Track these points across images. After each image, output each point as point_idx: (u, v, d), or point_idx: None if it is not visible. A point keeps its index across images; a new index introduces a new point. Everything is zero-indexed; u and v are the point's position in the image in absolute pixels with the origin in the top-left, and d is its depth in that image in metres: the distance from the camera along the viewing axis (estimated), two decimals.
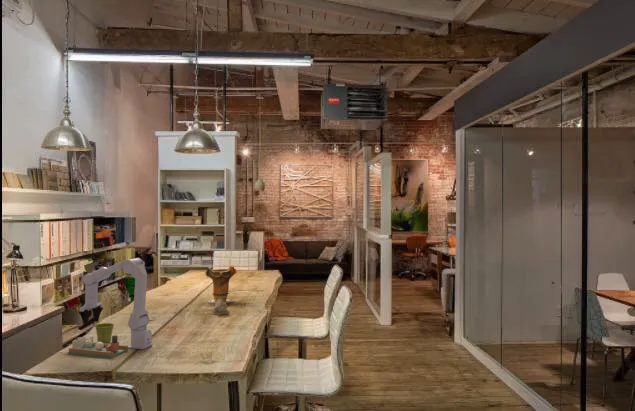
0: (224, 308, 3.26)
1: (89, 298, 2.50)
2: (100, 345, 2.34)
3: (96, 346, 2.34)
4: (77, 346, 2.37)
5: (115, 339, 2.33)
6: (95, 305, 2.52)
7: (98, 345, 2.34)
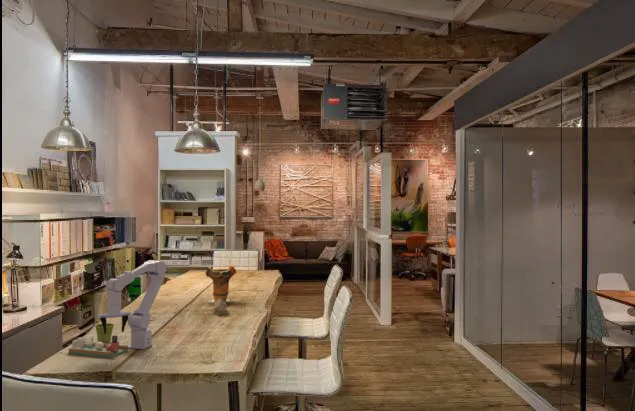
0: (224, 308, 3.26)
1: (108, 306, 2.32)
2: (100, 345, 2.34)
3: (96, 346, 2.34)
4: (77, 346, 2.37)
5: (115, 339, 2.33)
6: (114, 314, 2.32)
7: (98, 345, 2.34)
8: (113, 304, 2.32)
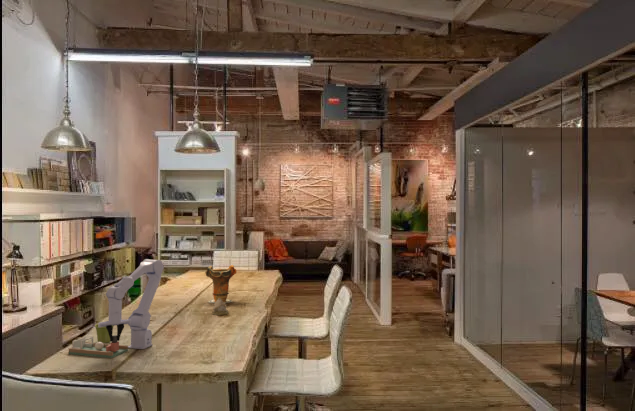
0: (223, 308, 3.26)
1: (109, 314, 2.31)
2: (100, 345, 2.34)
3: (96, 346, 2.34)
4: (77, 346, 2.37)
5: (115, 339, 2.33)
6: (115, 322, 2.31)
7: (98, 345, 2.34)
8: (114, 312, 2.31)
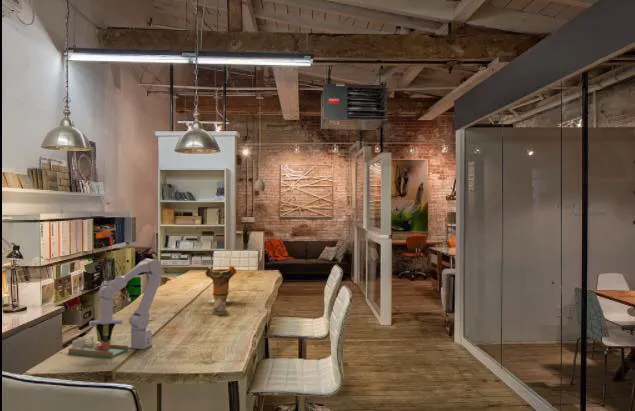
0: (223, 308, 3.26)
1: None
2: (98, 344, 2.35)
3: (94, 346, 2.34)
4: (77, 346, 2.37)
5: (106, 338, 2.34)
6: (104, 322, 2.32)
7: (96, 344, 2.34)
8: (103, 312, 2.32)
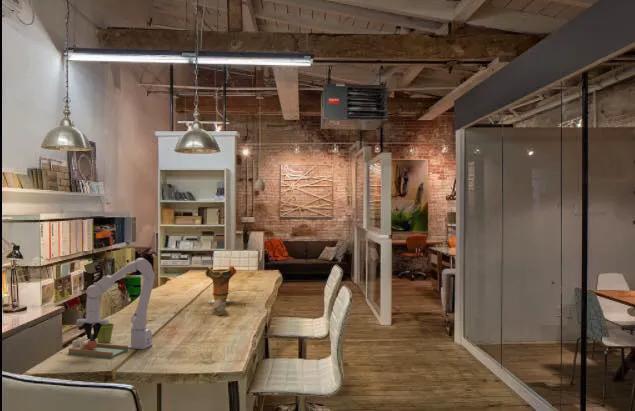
0: (223, 308, 3.25)
1: None
2: None
3: None
4: (77, 346, 2.37)
5: (93, 337, 2.36)
6: (88, 321, 2.34)
7: None
8: (88, 311, 2.34)
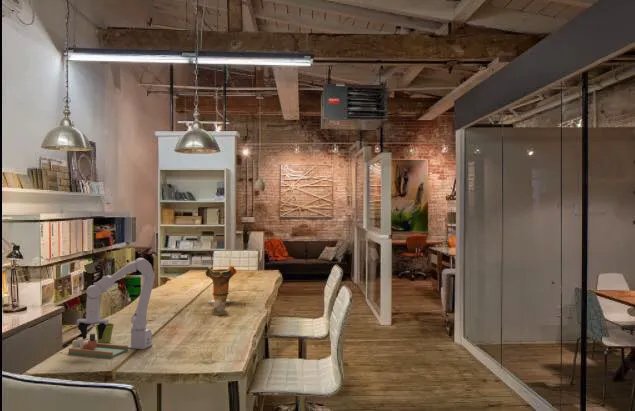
0: (223, 308, 3.25)
1: None
2: (82, 348, 2.37)
3: (82, 346, 2.36)
4: (77, 346, 2.37)
5: (93, 337, 2.36)
6: (88, 321, 2.34)
7: (82, 348, 2.36)
8: (88, 311, 2.34)
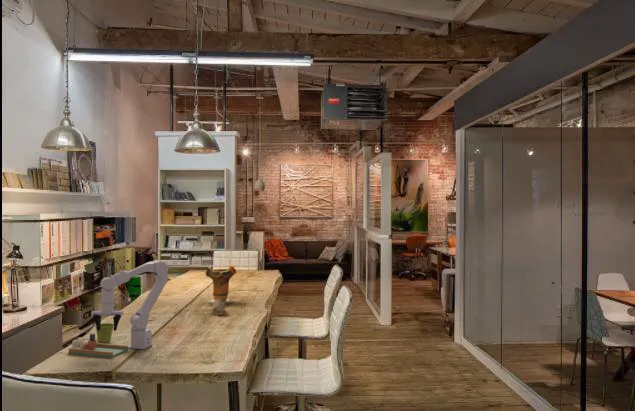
0: (222, 308, 3.25)
1: (101, 303, 2.37)
2: (82, 348, 2.37)
3: (82, 346, 2.36)
4: (77, 346, 2.37)
5: (93, 337, 2.36)
6: (104, 312, 2.35)
7: (82, 348, 2.36)
8: (103, 302, 2.35)
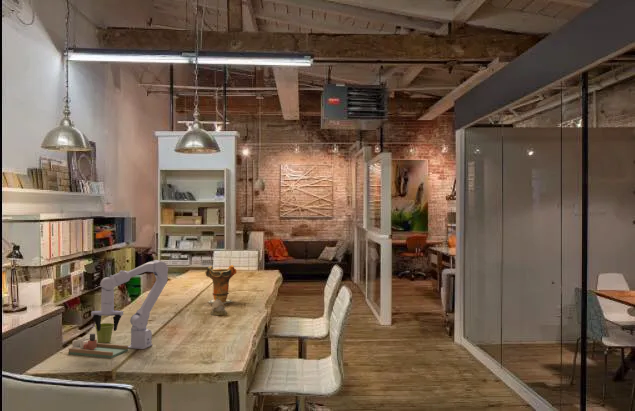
0: (222, 308, 3.25)
1: (101, 303, 2.37)
2: (82, 348, 2.37)
3: (82, 346, 2.36)
4: (77, 346, 2.37)
5: (93, 337, 2.36)
6: (104, 312, 2.35)
7: (82, 348, 2.36)
8: (103, 302, 2.35)
